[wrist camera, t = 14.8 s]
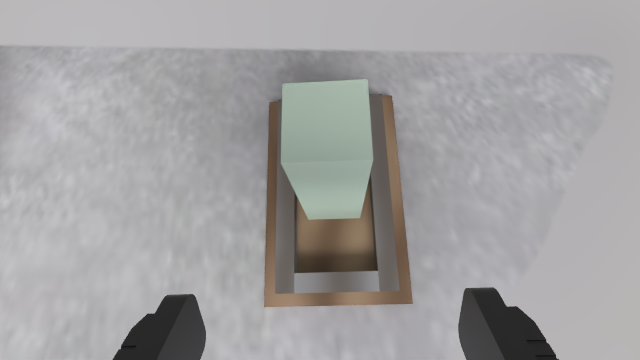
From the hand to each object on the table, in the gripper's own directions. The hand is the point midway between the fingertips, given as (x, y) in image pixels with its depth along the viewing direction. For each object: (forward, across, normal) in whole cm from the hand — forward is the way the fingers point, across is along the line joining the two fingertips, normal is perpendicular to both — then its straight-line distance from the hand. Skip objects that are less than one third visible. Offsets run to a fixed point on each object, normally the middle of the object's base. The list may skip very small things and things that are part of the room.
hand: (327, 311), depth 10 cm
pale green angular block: (+19, 0, +7) cm, 20 cm away
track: (+20, 0, +7) cm, 22 cm away
